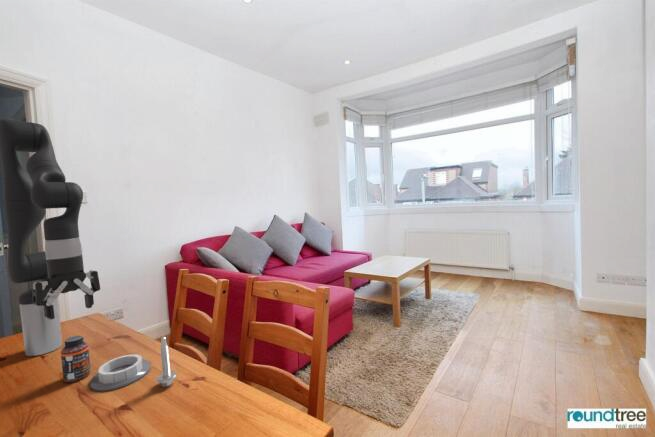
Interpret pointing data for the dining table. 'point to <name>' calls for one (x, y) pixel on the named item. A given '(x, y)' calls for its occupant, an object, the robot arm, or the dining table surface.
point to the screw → (165, 366)
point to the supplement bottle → (75, 359)
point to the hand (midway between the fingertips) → (70, 313)
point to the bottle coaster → (123, 383)
